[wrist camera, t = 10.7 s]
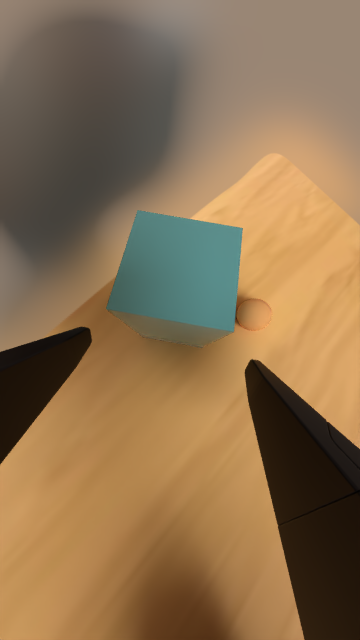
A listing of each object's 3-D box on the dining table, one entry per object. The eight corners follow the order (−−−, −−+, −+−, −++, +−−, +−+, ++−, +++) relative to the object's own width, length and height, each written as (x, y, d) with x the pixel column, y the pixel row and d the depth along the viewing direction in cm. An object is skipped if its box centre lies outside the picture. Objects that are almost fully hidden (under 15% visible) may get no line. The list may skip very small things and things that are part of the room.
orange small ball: (266, 318, 18) (286, 309, 15) (249, 339, 17) (266, 334, 14) (243, 299, 19) (258, 286, 15) (226, 319, 18) (237, 309, 15)
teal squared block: (201, 347, 17) (233, 331, 8) (142, 337, 17) (105, 309, 8) (209, 293, 19) (242, 228, 9) (155, 284, 19) (137, 210, 10)
